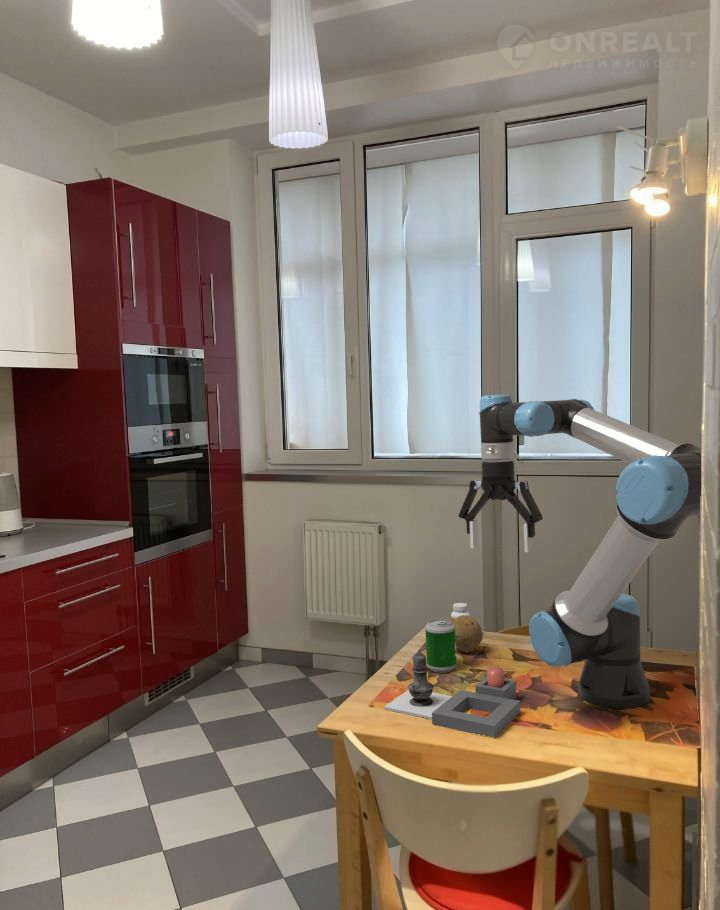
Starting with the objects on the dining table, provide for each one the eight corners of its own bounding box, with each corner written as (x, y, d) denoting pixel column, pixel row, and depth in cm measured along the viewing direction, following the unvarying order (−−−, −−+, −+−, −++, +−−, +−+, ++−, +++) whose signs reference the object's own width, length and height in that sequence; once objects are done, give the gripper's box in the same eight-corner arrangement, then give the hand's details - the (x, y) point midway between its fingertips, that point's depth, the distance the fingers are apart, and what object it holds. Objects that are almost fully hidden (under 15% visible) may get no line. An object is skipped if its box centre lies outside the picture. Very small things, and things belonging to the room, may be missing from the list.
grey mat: (457, 699, 168) (457, 697, 168) (432, 719, 158) (432, 717, 158) (410, 690, 175) (410, 688, 175) (384, 709, 165) (384, 706, 165)
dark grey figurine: (427, 709, 162) (425, 655, 162) (403, 704, 166) (401, 651, 165) (438, 699, 167) (436, 647, 167) (415, 695, 171) (413, 643, 170)
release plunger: (506, 694, 167) (506, 668, 167) (500, 700, 164) (499, 673, 164) (491, 691, 169) (491, 666, 169) (485, 697, 166) (484, 671, 166)
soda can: (455, 674, 184) (453, 627, 183) (425, 673, 185) (423, 626, 184) (457, 663, 191) (456, 618, 190) (428, 663, 193) (426, 617, 192)
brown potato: (442, 653, 199) (440, 617, 199) (460, 644, 206) (458, 609, 206) (471, 659, 194) (469, 622, 193) (488, 650, 200) (487, 613, 200)
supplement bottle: (466, 642, 208) (465, 608, 207) (448, 640, 210) (447, 606, 210) (473, 636, 213) (472, 603, 212) (456, 634, 215) (454, 601, 214)
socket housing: (531, 700, 166) (531, 683, 166) (494, 738, 148) (493, 718, 148) (474, 689, 173) (473, 673, 173) (432, 724, 156) (431, 705, 156)
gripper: (442, 461, 179) (446, 548, 180) (543, 461, 165) (546, 556, 167) (456, 458, 185) (459, 543, 187) (554, 459, 172) (557, 549, 173)
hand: (500, 549), depth 177 cm, fingers open, 13 cm apart
